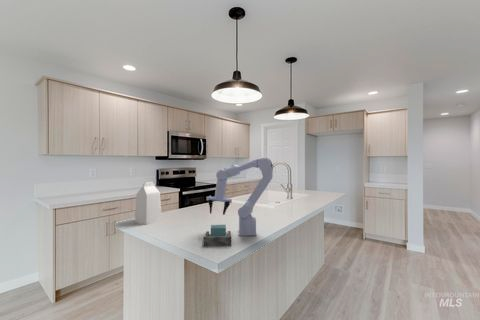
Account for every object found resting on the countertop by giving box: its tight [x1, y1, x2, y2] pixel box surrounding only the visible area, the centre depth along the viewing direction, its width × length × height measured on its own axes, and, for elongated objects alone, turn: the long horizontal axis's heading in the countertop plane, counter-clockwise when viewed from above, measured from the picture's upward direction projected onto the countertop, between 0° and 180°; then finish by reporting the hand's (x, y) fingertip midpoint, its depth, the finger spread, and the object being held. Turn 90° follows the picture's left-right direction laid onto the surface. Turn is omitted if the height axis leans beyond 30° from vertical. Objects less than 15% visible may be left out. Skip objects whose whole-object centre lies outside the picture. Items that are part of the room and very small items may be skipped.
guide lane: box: [202, 230, 232, 247], centre depth 115 cm, size 13×18×4 cm
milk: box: [134, 181, 163, 226], centre depth 148 cm, size 12×12×26 cm
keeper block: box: [210, 224, 227, 236], centre depth 121 cm, size 8×6×5 cm
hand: (217, 213), depth 128 cm, fingers open, 7 cm apart
